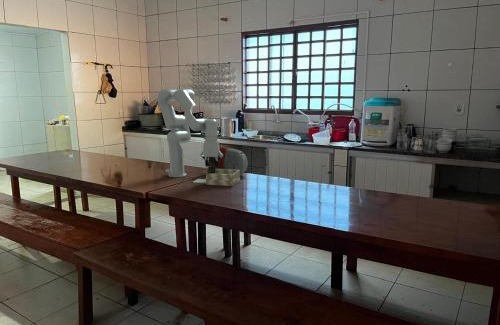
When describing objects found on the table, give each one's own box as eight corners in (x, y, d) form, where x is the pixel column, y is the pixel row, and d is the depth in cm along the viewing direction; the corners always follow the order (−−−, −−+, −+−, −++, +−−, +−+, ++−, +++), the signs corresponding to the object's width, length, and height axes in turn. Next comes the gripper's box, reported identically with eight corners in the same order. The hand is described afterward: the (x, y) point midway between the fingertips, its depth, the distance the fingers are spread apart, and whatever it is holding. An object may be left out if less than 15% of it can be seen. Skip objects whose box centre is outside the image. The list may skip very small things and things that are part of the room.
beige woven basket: (206, 184, 227) (205, 173, 226) (214, 179, 241) (213, 168, 240) (233, 185, 223) (233, 174, 221) (240, 180, 237) (239, 169, 236)
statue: (205, 176, 235) (204, 146, 231) (215, 175, 238) (214, 145, 234) (208, 178, 229) (207, 147, 225) (219, 177, 232) (218, 146, 228)
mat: (192, 182, 232) (192, 182, 232) (197, 179, 241) (197, 178, 241) (205, 183, 230) (205, 182, 230) (210, 179, 239) (210, 179, 239)
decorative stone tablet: (207, 145, 254) (245, 152, 241) (212, 144, 260) (249, 150, 246) (206, 172, 259) (243, 180, 245) (211, 170, 264) (247, 177, 251)
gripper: (196, 139, 227) (197, 167, 230) (222, 140, 223) (222, 168, 226) (200, 137, 234) (201, 164, 237) (226, 138, 230) (226, 166, 234)
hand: (211, 166), depth 232 cm, fingers closed on statue, 6 cm apart
